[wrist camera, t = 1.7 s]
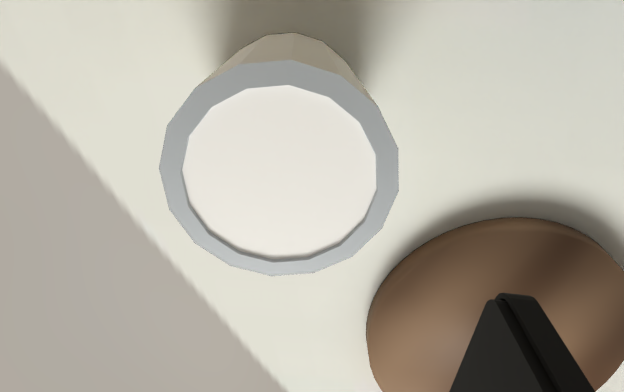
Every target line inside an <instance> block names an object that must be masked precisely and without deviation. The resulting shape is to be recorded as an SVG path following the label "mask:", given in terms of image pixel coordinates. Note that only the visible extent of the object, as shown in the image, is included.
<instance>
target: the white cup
mask: <svg viewBox="0 0 624 392" xmlns="http://www.w3.org/2000/svg"><path fill="white" fill-rule="evenodd" d="M159 170H160V174H161V178H162V182H163V186H164V190H165V194H166V198H167V202H168V206H169V210H170V211H171V212H172V214H173V215H174V216H175V218H176V219H177V220H178V222H179V223H180V224H181V225H182V227H183V228H184V229H185V231H186V232H187V233H188V235H189V236H190V237H191V239H192V240H193V241H194V243H195V244H197V245H199V246H200V247H202V248H203V249H205V250H206V251H208V252H209V253H211V254H213V255H214V256H216V257H217V258H219V259H220V260H222V261H223V262H225V263H227V264H228V265H230V266H233V267H237V268H241V269H245V270H249V271H253V272H257V273H261V274H265V275H269V276H281V275H294V274H307V273H315V272H317V271H320V270H322V269H324V268H327V267H329V266H331V265H334V264H336V263H339V262H341V261H343V260H346V259H348V258H350V257H352V256H353V255H354V254H355V253H357V252H358V251H359V250H360V249H361V248H362V247H363V246H364V245H365V244H366V243H367V242H368V241H369V240H370V239H371V238H372V237H373V236H374V235H376V234H377V233H378V232H379V231H380V230H381V229H382V227H383V225H384V222H385V220H386V218H387V216H388V213H389V211H390V209H391V207H392V205H393V202H394V200H395V198H396V196H397V193H398V191H399V190H398V147H397V145H396V143H395V141H394V139H393V137H392V135H391V132H390V130H389V128H388V126H387V124H386V122H385V120H384V118H383V116H382V114H381V111H380V109H379V107H378V106H377V105H376V103H375V102H374V100H373V99H372V98H371V96H370V95H369V94H368V92H367V91H366V89H365V88H364V87H363V85H362V84H361V82H360V81H359V80H358V78H357V77H356V76H355V74H354V73H353V71H352V70H351V69H350V67H349V66H348V65H347V63H346V62H345V60H344V59H342V58H341V57H340V56H339V55H338V54H337V53H336V52H334V51H333V50H332V49H331V48H330V47H329V46H327V45H326V44H325V43H324V42H323V41H320V40H317V39H314V38H311V37H307V36H304V35H301V34H298V33H284V34H273V35H266V36H264V37H262V38H260V39H258V40H256V41H255V42H253V43H251V44H249V45H247V46H245V47H244V48H242V49H240V50H239V51H238V52H237V53H236V54H235V55H233V56H232V57H231V58H230V59H229V60H228V61H226V62H225V63H224V64H223V65H222V66H220V67H219V68H218V69H217V70H216V71H215V72H213V73H212V74H211V75H210V76H209V77H208V78H206V79H205V80H204V81H203V82H202V83H200V84H199V85H198V86H197V87H196V88H195V89H194V90H193V92H192V93H191V94H190V96H189V97H188V98H187V100H186V101H185V102H184V104H183V105H182V106H181V108H180V109H179V110H178V112H177V113H176V114H175V116H174V117H173V118H172V120H171V121H170V122H169V124H168V125H167V129H166V134H165V140H164V145H163V150H162V155H161V160H160V165H159Z"/></svg>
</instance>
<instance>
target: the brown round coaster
mask: <svg viewBox="0 0 624 392" xmlns="http://www.w3.org/2000/svg"><path fill="white" fill-rule="evenodd" d="M499 293H511V294H520V295H529V296H532V297H534V298H535V299H536V300H537V301H538V303H539V304H540V306H541V307H542V309H543V311H544V312H545V314H546V315H547V317H548V318H549V320H550V321H551V323H552V325H553V326H554V328H555V329H556V331H557V332H558V334H559V336H560V337H561V339H562V340H563V342H564V343H565V345H566V347H567V348H568V350H569V351H570V353H571V354H572V356H573V358H574V359H575V361H576V362H577V364H578V365H579V367H580V369H581V370H582V372H583V373H584V375H585V376H586V378H587V379H588V381H589V383H590V384H591V386H592V387H593V389H594V390H595V391H597V390H598V389H599V388H600V387H601V386H602V385H603V384H604V383H606V382H607V380H608V379H609V378H610V377H611V376H612V375H613V374H614V373H615V372H616V370H617V369H618V368H619V366H620V365H621V363H622V362H623V361H624V271H623V270H622V269H621V268H620V266H619V265H618V264H617V263H616V262H615V261H614V260H613V259H612V258H611V256H610V255H609V254H608V253H607V252H606V251H605V250H604V249H603V248H602V247H601V246H600V245H599V244H598V243H596V242H595V241H594V240H592V239H591V238H590V237H588V236H587V235H585V234H583V233H581V232H579V231H577V230H575V229H573V228H571V227H568V226H565V225H562V224H560V223H557V222H552V221H547V220H542V219H534V218H522V217H520V218H499V219H492V220H485V221H480V222H477V223H473V224H469V225H465V226H462V227H459V228H457V229H454V230H451V231H448V232H446V233H444V234H442V235H440V236H438V237H436V238H434V239H432V240H430V241H428V242H427V243H425V244H424V245H422V246H420V247H419V248H417V249H416V250H414V251H413V252H412V253H411V254H409V255H408V256H407V257H406V258H405V259H403V260H402V261H401V262H400V263H399V264H398V265H397V266H396V267H395V268H394V269H393V270H392V271H391V272H390V274H389V275H388V276H387V278H386V279H385V280H384V282H383V283H382V284H381V286H380V288H379V289H378V291H377V293H376V295H375V297H374V299H373V301H372V304H371V307H370V310H369V313H368V318H367V323H366V340H367V347H368V354H369V361H370V367H371V370H372V372H373V375H374V378H375V380H376V382H377V383H378V385H379V387H380V389H381V390H382V391H383V392H449V391H450V389H451V386H452V384H453V381H454V379H455V377H456V374H457V372H458V369H459V367H460V364H461V362H462V360H463V357H464V355H465V352H466V350H467V347H468V345H469V343H470V340H471V338H472V335H473V333H474V331H475V328H476V326H477V323H478V321H479V318H480V316H481V314H482V311H483V309H484V306H485V304H486V302H487V301H488V300H490V299H495V298H496V296H497V295H498V294H499Z"/></svg>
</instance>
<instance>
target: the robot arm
mask: <svg viewBox="0 0 624 392" xmlns="http://www.w3.org/2000/svg"><path fill="white" fill-rule="evenodd" d="M449 392H595V390H594V389H593V387H592V386H591V384H590V383H589V381H588V379H587V378H586V376H585V375H584V373H583V372H582V370H581V369H580V367H579V365H578V364H577V362H576V361H575V359H574V358H573V356H572V354H571V353H570V351H569V350H568V348H567V347H566V345H565V343H564V342H563V340H562V339H561V337H560V336H559V334H558V332H557V331H556V329H555V328H554V326H553V325H552V323H551V321H550V320H549V318H548V317H547V315H546V314H545V312H544V311H543V309H542V307H541V306H540V304H539V303H538V301H537V300H536V299H535V298H534V297H532V296H529V295H520V294H511V293H499V294H498V295H497V296H496V298H495V299H490V300H488V301H487V302H486V304H485V306H484V309H483V311H482V314H481V316H480V318H479V321H478V323H477V326H476V328H475V331H474V333H473V335H472V338H471V340H470V343H469V345H468V347H467V350H466V352H465V355H464V357H463V360H462V362H461V364H460V367H459V369H458V372H457V374H456V377H455V379H454V381H453V384H452V386H451V389H450V391H449Z"/></svg>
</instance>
